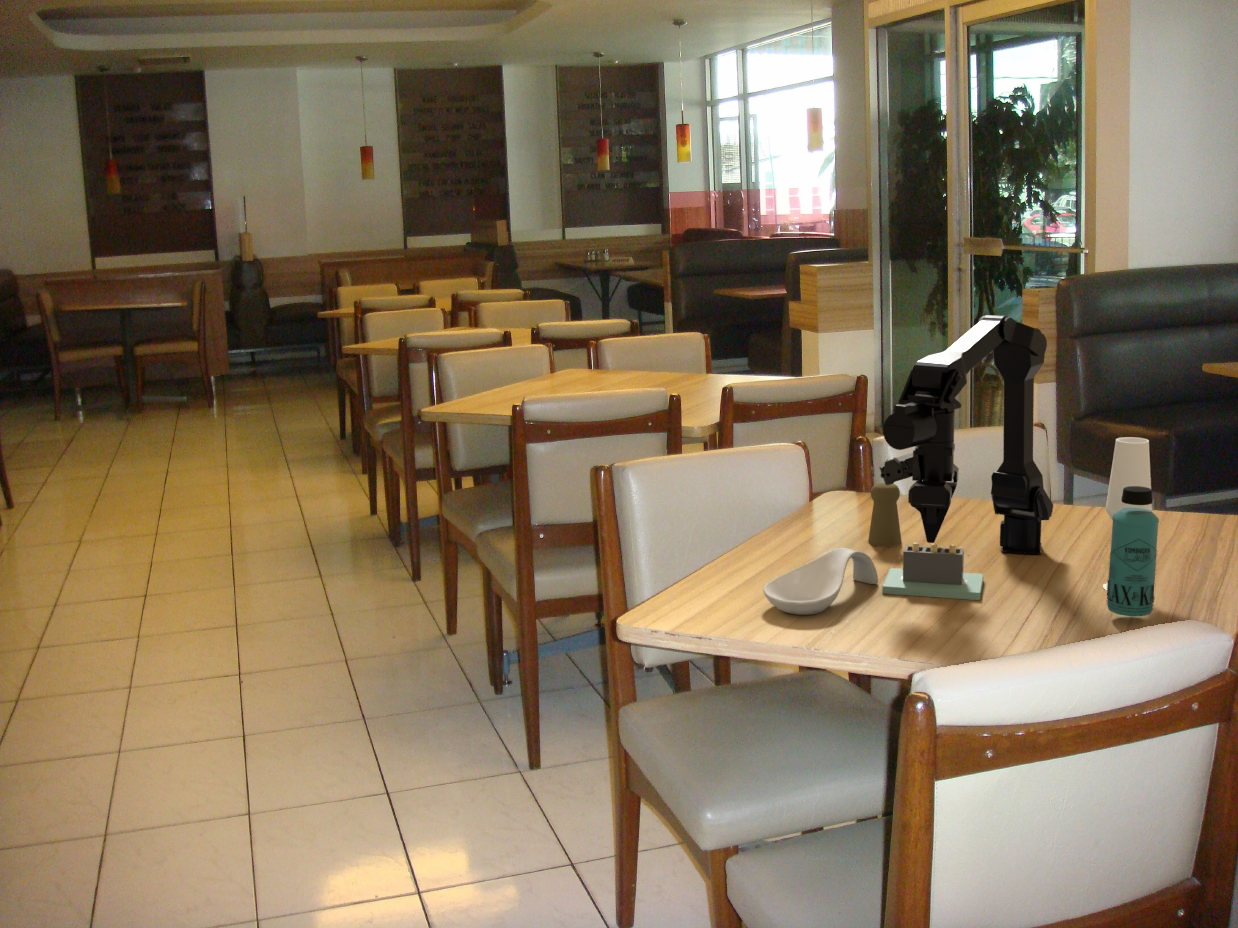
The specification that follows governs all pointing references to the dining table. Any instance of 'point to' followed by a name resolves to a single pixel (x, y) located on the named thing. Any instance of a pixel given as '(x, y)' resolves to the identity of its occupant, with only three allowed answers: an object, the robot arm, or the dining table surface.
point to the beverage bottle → (1133, 555)
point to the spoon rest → (818, 581)
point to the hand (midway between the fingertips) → (933, 534)
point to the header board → (965, 591)
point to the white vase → (1128, 473)
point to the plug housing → (933, 565)
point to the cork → (885, 516)
